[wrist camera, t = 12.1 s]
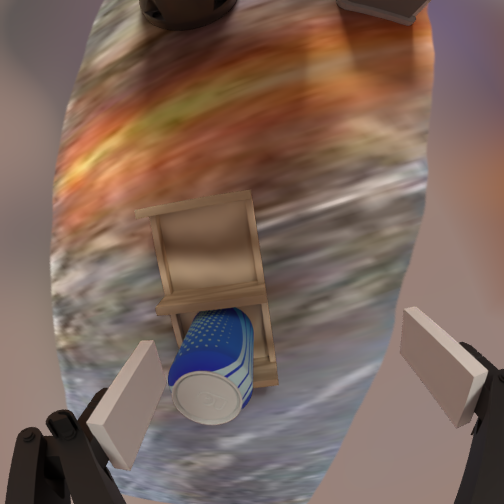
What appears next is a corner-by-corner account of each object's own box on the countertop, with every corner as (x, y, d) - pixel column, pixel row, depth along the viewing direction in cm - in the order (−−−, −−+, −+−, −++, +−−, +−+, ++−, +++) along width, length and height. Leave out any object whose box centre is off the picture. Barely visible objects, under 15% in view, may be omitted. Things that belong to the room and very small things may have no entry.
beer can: (211, 362, 42) (192, 439, 26) (182, 314, 40) (144, 379, 25) (264, 341, 41) (268, 417, 25) (236, 290, 39) (224, 350, 24)
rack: (154, 207, 39) (134, 210, 32) (251, 190, 38) (250, 189, 31) (190, 365, 43) (180, 393, 36) (275, 357, 43) (278, 384, 36)
